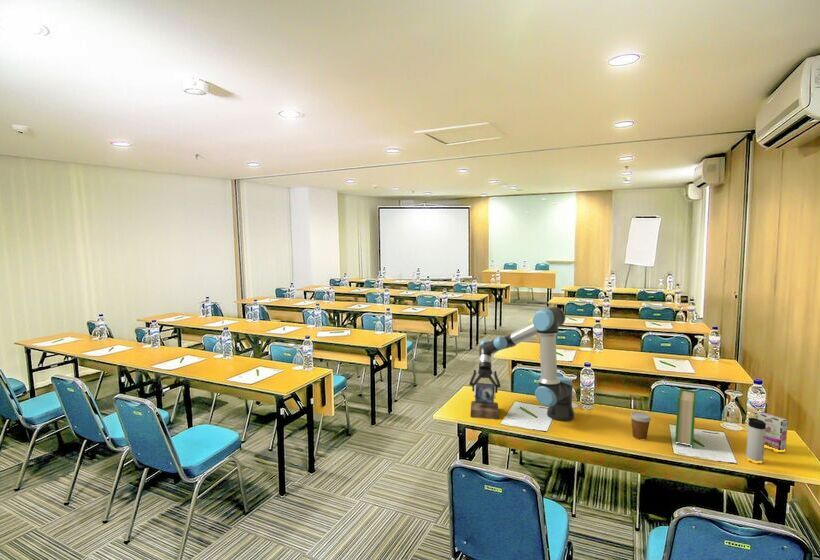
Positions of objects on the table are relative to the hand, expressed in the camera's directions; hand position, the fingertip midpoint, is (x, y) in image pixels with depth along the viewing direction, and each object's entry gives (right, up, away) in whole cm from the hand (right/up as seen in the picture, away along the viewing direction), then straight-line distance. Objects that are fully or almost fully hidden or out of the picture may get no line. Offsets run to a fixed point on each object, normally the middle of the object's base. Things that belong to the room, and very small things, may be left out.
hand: (484, 397), depth 251 cm
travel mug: (+117, -16, -52) cm, 129 cm away
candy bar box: (+135, -15, -38) cm, 141 cm away
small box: (0, -4, +3) cm, 5 cm away
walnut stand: (+1, -10, +4) cm, 11 cm away
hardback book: (+98, -14, -30) cm, 104 cm away
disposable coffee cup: (+76, -14, -27) cm, 82 cm away
